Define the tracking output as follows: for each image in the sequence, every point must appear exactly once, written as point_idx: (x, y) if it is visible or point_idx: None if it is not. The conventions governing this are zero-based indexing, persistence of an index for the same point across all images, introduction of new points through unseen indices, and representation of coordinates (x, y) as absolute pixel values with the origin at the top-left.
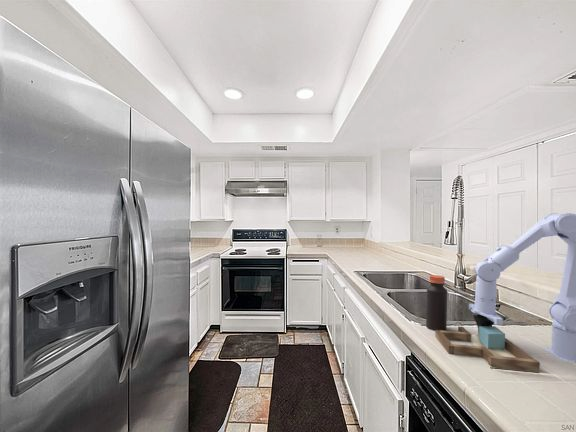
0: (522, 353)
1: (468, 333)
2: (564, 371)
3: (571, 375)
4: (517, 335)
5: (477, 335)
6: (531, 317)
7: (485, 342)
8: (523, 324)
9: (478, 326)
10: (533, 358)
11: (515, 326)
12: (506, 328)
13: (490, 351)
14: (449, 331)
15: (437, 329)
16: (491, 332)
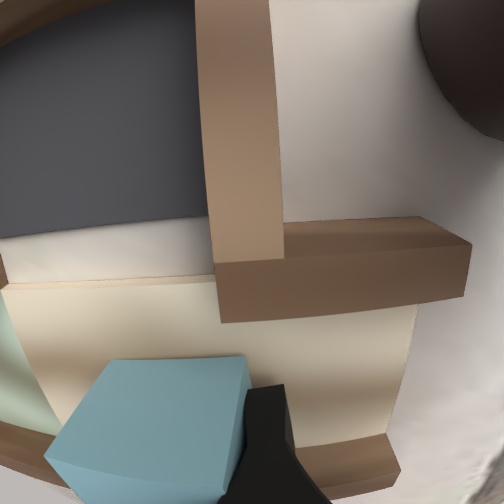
0: (22, 464)
1: (250, 299)
2: (78, 497)
3: (60, 493)
4: (398, 499)
5: (387, 373)
6: (501, 499)
7: (127, 383)
8: (475, 497)
9: (269, 473)
10: (2, 465)
11: (470, 488)
12: (465, 474)
13: (71, 354)
14: (252, 29)
15: (431, 7)
16: (92, 493)
